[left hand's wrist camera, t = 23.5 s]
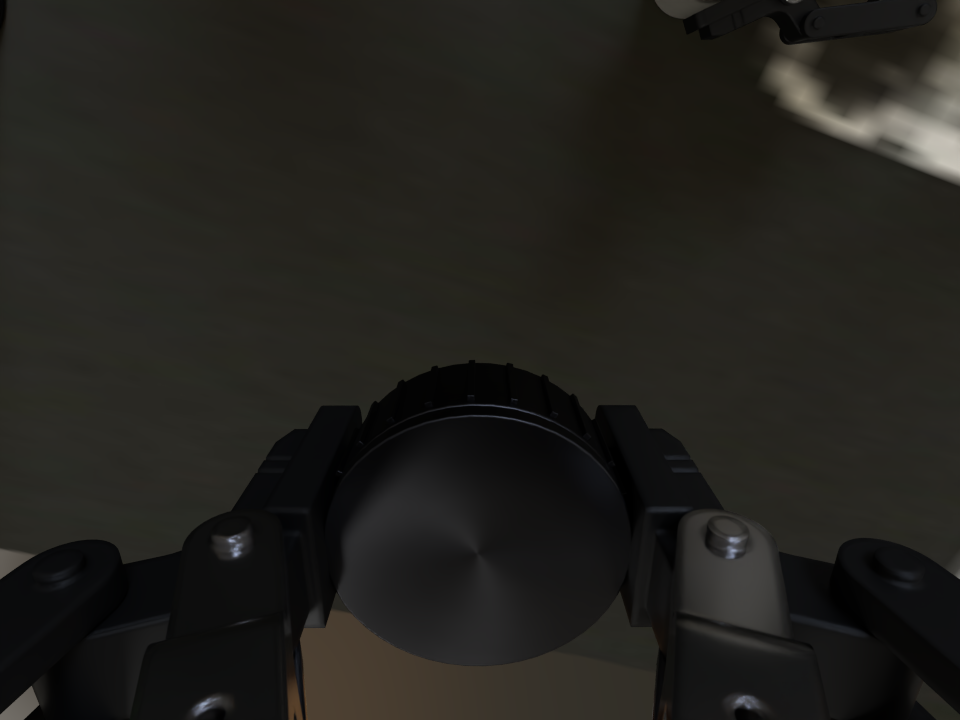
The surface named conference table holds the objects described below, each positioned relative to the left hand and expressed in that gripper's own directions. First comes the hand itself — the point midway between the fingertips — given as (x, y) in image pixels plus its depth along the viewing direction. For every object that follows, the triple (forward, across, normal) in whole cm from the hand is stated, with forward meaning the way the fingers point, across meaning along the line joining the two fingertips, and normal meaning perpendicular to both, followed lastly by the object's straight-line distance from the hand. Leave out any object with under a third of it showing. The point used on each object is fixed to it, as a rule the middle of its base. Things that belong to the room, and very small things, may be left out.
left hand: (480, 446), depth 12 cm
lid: (-3, 0, 0) cm, 3 cm away
